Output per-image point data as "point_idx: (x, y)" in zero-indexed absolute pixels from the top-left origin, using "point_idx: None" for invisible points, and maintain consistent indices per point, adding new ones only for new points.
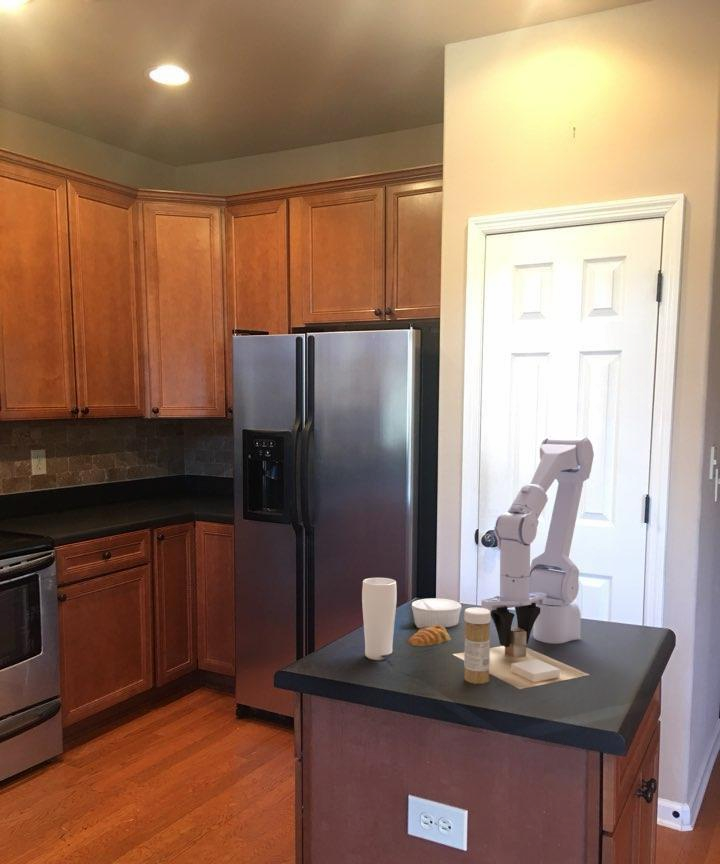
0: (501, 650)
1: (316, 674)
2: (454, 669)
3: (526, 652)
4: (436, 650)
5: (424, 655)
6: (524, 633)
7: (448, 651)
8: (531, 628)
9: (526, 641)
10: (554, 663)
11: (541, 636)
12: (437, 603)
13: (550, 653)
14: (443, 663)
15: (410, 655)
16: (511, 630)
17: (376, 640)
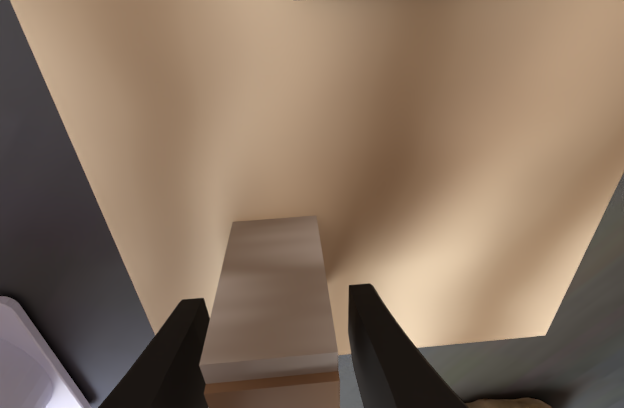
0: None
1: None
2: (616, 234)
3: (192, 269)
4: (482, 394)
5: (558, 370)
6: (226, 348)
7: (455, 381)
8: (109, 404)
9: (191, 309)
10: (94, 21)
11: (1, 395)
12: None
13: (20, 271)
14: (582, 299)
15: (594, 378)
16: (338, 401)
17: None
